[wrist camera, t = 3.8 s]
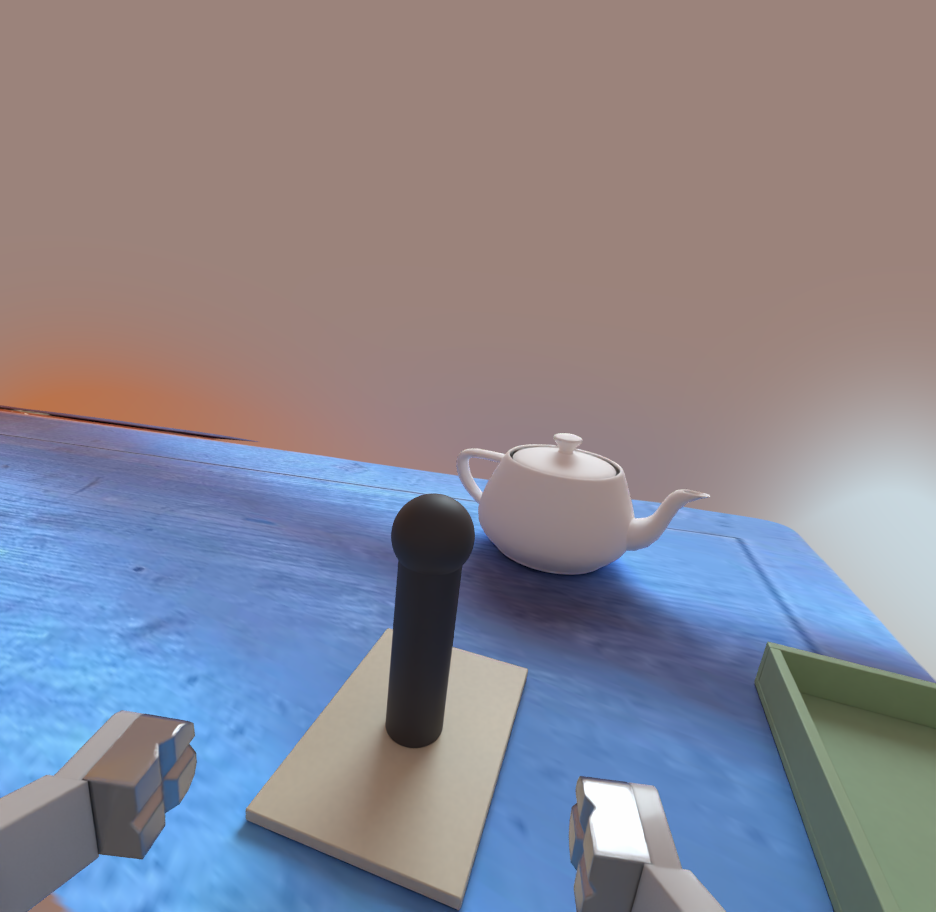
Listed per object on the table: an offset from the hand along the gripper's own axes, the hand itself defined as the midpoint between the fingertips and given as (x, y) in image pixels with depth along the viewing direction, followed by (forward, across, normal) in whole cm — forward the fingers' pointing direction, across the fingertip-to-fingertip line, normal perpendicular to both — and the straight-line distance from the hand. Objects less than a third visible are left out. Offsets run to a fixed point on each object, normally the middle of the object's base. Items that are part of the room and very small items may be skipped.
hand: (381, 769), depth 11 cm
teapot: (+34, -8, +12) cm, 37 cm away
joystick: (+12, +1, +11) cm, 16 cm away
